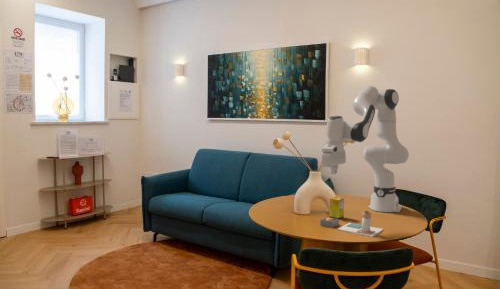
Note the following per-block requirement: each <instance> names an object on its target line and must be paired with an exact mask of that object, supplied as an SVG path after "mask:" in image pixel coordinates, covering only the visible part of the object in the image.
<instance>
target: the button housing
mask: <svg viewBox="0 0 500 289" xmlns="http://www.w3.org/2000/svg"><path fill="white" fill-rule="evenodd" d="M326 218H330V216H326V217H323V218H321V219H320V221H319V222H320V223H319V225H320V226H322V227H328V228H331V229H333V228H335V227H337V226H339V225H340V219H335V218H333V219H334V221H328V220H326Z"/></svg>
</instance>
